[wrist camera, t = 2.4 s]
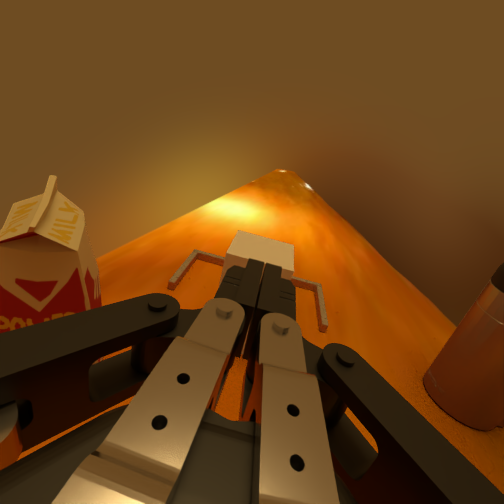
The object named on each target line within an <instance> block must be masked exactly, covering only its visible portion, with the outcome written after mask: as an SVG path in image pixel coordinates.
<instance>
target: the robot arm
mask: <svg viewBox="0 0 504 504" xmlns="http://www.w3.org/2000/svg"><path fill="white" fill-rule="evenodd" d="M263 267H264V262H262V261H259V260H255V259H251V258H249V259H248V262H247V265H246V268H244V267H240V266H236V265H234V266H232V267H230V268H229V269H227V271H226V274H225V276H224V278H223V280H222V282H221V284H220V286H219V288H218V291H217V293H216V295H215V297H214V299H211V300H209V301H208V302H207V303H206V304H205V305H204V307H203V308H201V309H195V310H188V309H180V305H179V302H178V301H177V300H176V299H175V298H173V297H172V296H169V295H166V294H161V293H152V294H147V295H143V296H139V297H135V298H132V299H128V300H124V301H120V302H117V303H113V304H109V305H105V306H102V307H98V308H94V309H90V310H87V311H83V312H79V313H75V314H71V315H68V316H64V317H60V318H56V319H53V320H49V321H45V322H41V323H38V324H34V325H30V326H26V327H23V328H19V329H15V330H11V331H7V332H4V333H0V504H504V495H503V494H502V493H501V492H500V491H499V490H498V489H497V488H496V487H495V486H494V485H493V484H492V483H491V482H490V481H489V480H488V479H487V478H486V477H485V476H484V475H483V474H482V473H481V472H480V471H479V470H478V469H477V468H476V467H475V466H474V465H473V464H471V463H470V462H469V461H468V460H467V459H466V458H465V457H464V456H463V455H462V454H461V453H460V452H459V451H458V450H457V449H456V448H455V447H454V446H453V445H452V444H451V443H450V442H449V441H448V440H447V439H446V438H445V437H444V436H443V435H442V434H441V433H440V432H438V431H437V430H436V429H435V428H434V427H433V426H432V425H431V424H430V423H429V422H428V421H427V420H426V419H425V418H424V417H423V416H422V415H421V414H420V413H419V412H418V411H417V410H416V409H415V408H414V407H413V406H412V405H411V404H410V403H409V402H408V401H406V400H405V399H404V398H403V397H402V396H401V395H400V394H399V393H398V392H397V391H396V390H395V389H394V388H393V387H392V386H391V385H390V384H389V383H388V382H387V381H386V380H385V379H384V378H383V377H382V376H381V375H380V374H379V373H378V372H377V371H376V370H374V369H373V368H372V367H371V366H370V365H369V364H368V363H367V362H366V361H365V360H364V359H363V358H362V357H361V356H360V355H359V354H358V353H357V352H355V351H354V350H353V349H351V348H349V347H347V346H345V345H342V344H338V343H331V344H328V345H326V346H325V347H324V349H321V348H319V347H317V346H315V345H313V344H312V343H310V342H308V341H307V340H306V339H305V338H303V337H302V334H301V329H300V327H299V325H298V324H297V322H296V302H295V301H296V296H295V295H296V292H295V286H294V285H293V283H292V282H291V280H287V279H284V278H281V273H282V267H281V266H277V265H273V264H270V263H266V265H265V268H264V272H263V275H262V271H263ZM261 276H262V278H261ZM260 281H261V282H260ZM249 325H250V326H249ZM248 328H249V330H248ZM247 332H248V335H247ZM246 335H247V339H246V343H245V348H244V352H243V357H242V358H243V359H246V360H248V363H247V367H246V370H245V374H244V377H243V384H242V393H241V402H240V411H239V420H238V421H231V420H228V419H226V418H224V417H222V416H221V415H219V414H217V413H216V412H215V409H216V406H217V404H218V401H219V398H220V395H221V393H222V390H223V387H224V385H225V382H226V379H227V376H228V373H229V370H230V368H231V367H232V365H233V363H234V359H235V356H236V357H239V358H240V356H241V352H242V349H243V345H244V342H245V338H246ZM129 346H132V349H131V350H129V351H126V352H124V353H121V354H118V355H116V356H113V357H111V358H108V359H106V360H103V361H101V362H98V363H95V364H93V363H94V362H95V361H96V360H98V359H99V358H101V357H103V356H106V355H109V354H111V353H114V352H116V351H119V350H122V349H124V348H127V347H129ZM92 364H93V365H92ZM423 381H424V385H425V388H426V390H427V391H428V393H429V395H430V396H431V397H432V398H433V400H434V401H435V402H436V403H437V404H438V405H439V406H440V407H441V408H442V409H443V410H445V411H446V412H447V413H448V414H449V415H451V416H452V417H454V418H455V419H457V420H458V421H460V422H462V423H464V424H465V425H468V426H470V427H472V428H475V429H479V430H486V431H488V430H492V429H493V428H495V427H496V426H500V427H504V263H503V264H502V265H500V266H499V268H498V269H497V270H496V272H495V273H494V275H493V276H492V278H491V279H490V281H489V282H488V283H487V285H486V286H485V288H484V289H483V290H482V292H481V293H480V295H479V296H478V298H477V299H476V301H475V302H474V304H473V305H472V307H471V308H470V310H469V311H468V312H467V314H466V315H465V317H464V318H463V320H462V321H461V322H460V324H459V325H458V327H457V328H456V330H455V331H454V333H453V334H452V335H451V337H450V338H449V340H448V341H447V343H446V344H445V346H444V347H443V348H442V350H441V351H440V353H439V354H438V356H437V357H436V359H435V360H434V361H433V363H432V364H431V366H430V367H429V369H428V370H427V372H426V373H425V374H424V377H423ZM134 395H135V396H134ZM132 396H134V398H133V399H132V401H131V402H130V404H128V405H124V406H121V407H118V408H115V409H113V410H111V411H108V412H106V413H104V414H102V415H100V416H98V417H97V418H95V419H93V420H91V421H89V422H87V423H86V424H84V425H82V426H80V427H78V428H76V429H75V430H73V431H71V432H69V433H67V434H66V435H64V436H62V437H60V438H58V439H56V440H55V441H53V442H51V443H49V444H47V445H45V446H44V447H42V448H40V449H38V450H36V451H35V452H33V453H31V454H29V455H27V456H25V457H24V458H22V459H20V460H18V461H17V459H18V458H19V456H20V454H21V453H22V452H24V451H26V450H28V449H30V448H32V447H34V446H36V445H38V444H40V443H42V442H44V441H46V440H48V439H49V438H51V437H53V436H55V435H57V434H59V433H61V432H63V431H65V430H67V429H69V428H71V427H73V426H75V425H77V424H79V423H81V422H83V421H85V420H87V419H89V418H91V417H93V416H95V415H97V414H99V413H101V412H103V411H105V410H106V409H108V408H110V407H112V406H114V405H116V404H118V403H120V402H122V401H124V400H126V399H128V398H130V397H132ZM347 407H348V408H349V409H350V410H351V411H352V412H353V414H354V415H355V416H356V417H357V418H358V420H359V421H360V422H361V423H362V424H363V425H364V427H365V428H366V429H367V430H368V431H369V433H370V434H371V435H372V436H373V438H374V439H375V441H376V444H377V447H378V453H377V452H376V451H375V450H374V449H373V447H372V446H371V445H370V444H369V442H368V441H367V440H366V439H365V437H364V436H363V435H362V434H361V433H360V431H359V430H358V429H357V428H356V426H355V425H354V424H353V423H352V422H351V420H350V419H349V418H348V417H347V415H346V414H345V413H344V412H345V411H346V409H347Z"/></svg>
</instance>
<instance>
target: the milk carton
mask: <svg viewBox="0 0 504 504" xmlns="http://www.w3.org/2000/svg"><path fill="white" fill-rule="evenodd" d="M98 307H102V303H101V292H100V281H99V270H98V266H97V263H96V259H95V256H94V253H93V250H92V246H91V243H90V240H89V237H88V233H87V230H86V224H85V218H84V212H83V211H82V210H81V209H80V208H78V207H77V206H76V205H75V204H73V203H72V202H71V201H70V200H68V199H67V198H66V197H65V196H63V195H62V194H61V193H60V192H58V191H57V176H52V175H50V176H49V180H48V183H47V186H46V189H45V192H44V194H41V195H38V196H35V197H32V198H29V199H26V200H23V201H20V202H17V203H14V204H13V206H12V208H11V210H10V212H9V215H8V217H7V219H6V222H5V224H4V226H3V228H2V229H1V230H0V333H4V332H7V331H11V330H15V329H19V328H23V327H26V326H30V325H34V324H38V323H41V322H45V321H49V320H53V319H56V318H60V317H64V316H68V315H71V314H75V313H79V312H83V311H87V310H90V309H94V308H98ZM102 359H103V357H101V358H99V359H98V360H96V361H95V362H94V363H93V364H95V363H98V362H101V361H102ZM93 364H92V365H93Z"/></svg>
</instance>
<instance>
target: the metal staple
mask: <svg viewBox="0 0 504 504" xmlns="http://www.w3.org/2000/svg"><path fill="white" fill-rule="evenodd" d="M196 259H199V260H203V261H206V262H210V263H214V264H217V265H221V266H223V265H224V261H225V257H221V256H217V255H214V254H210V253H206V252H203V251H199V250H196V249H194V251H193V252H192V253H191V254H190V256H189V257H188V258H187V259H186V260H185V262H184V263H183V264H182V265H181V267H180V268H179V269H178V270H177V271H176V273H175V274H174V275H173V276H172V278H171V279H170V280H169V282H168V289H171V290H174V289H175V287H176V286H177V285H178V283H179V282H180V281H181V279H182V278H183V277H184V275H185V274H186V273H187V271H188V270H189V269H190V267H191V266H192V265H193V263H194V262H195V261H196ZM291 282H292V283H293V285H294V286H297V287H300V288H304V289H308V290H311V291H314V293H315V301H316V309H317V317H318V325H319V331H321V332H324V333H325V332H326V330H327V328H328V321H327V315H326V309H325V304H324V298H323V292H322V287H321V284H319V283H315V282H312V281H308V280H304V279H301V278H297V277H294V276H292V278H291Z"/></svg>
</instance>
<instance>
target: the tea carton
mask: <svg viewBox="0 0 504 504" xmlns="http://www.w3.org/2000/svg"><path fill="white" fill-rule="evenodd" d="M249 258H251V259H255V260H259V261H262V262H264V267H263V271H262V275H263V272H264V268H265V265H266V263H270V264H273V265H277V266H281V267H282V273H281V278H284V279H287V280H291V278H292V275H293V273H294V245H291V244H288V243H284V242H280V241H277V240H273V239H269V238H266V237H262V236H258V235H255V234H251V233H247V232H244V231H240V230H238V232H237V234H236V236H235V238H234V239H233V241H232V243H231V245H230V247H229V249H228V251H227V252H226V256H225V261H224V265H223V270H222V275H221V279H220V284H221V282H222V280H223V278H224V276H225V274H226V271H227V269H229V268H230V267H232V266H234V265H236V266H240V267H244V268H246V265H247V262H248V259H249ZM261 278H262V276H261ZM260 282H261V281H260ZM220 284H219V286H220ZM249 326H250V325H249ZM248 330H249V328H248ZM247 335H248V332H247ZM247 335H246V338H245V342H244V345H243V349H242V352H241V354H243V352H244V348H245V343H246V339H247Z"/></svg>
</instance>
